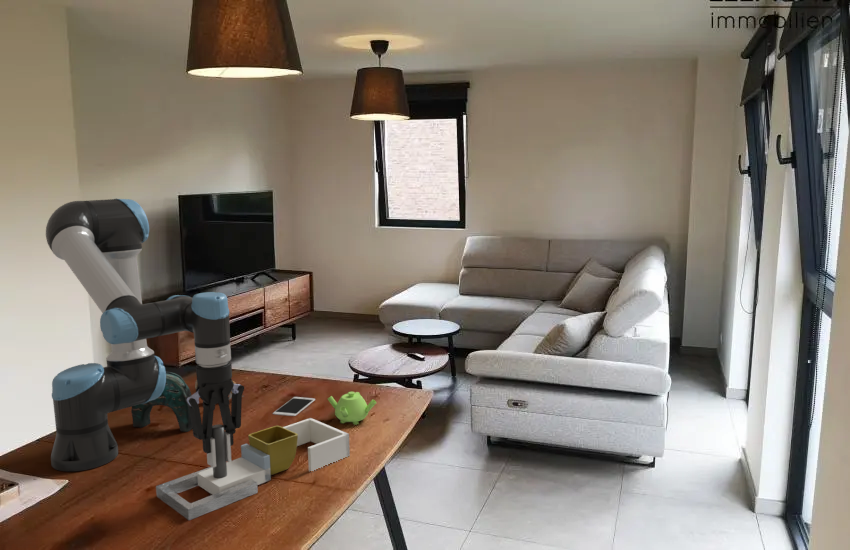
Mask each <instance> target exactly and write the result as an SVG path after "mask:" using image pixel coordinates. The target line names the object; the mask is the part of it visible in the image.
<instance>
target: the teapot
mask: <svg viewBox="0 0 850 550" xmlns="http://www.w3.org/2000/svg"><path fill="white" fill-rule="evenodd" d="M327 401H328V402H329V403H330V404H331V406H332V407H333V408H334V415H335V417H336V418H337V419H338V420H339V424H345V423H352V424H353V425H354V426H355V425H356V426H358V425H359V424H360V423H359V422H360V421H363V420H364V419H366V417H367V416H368V415H369V412H370V411H371V410H372V408H374V406H375V405H376V404H377V401H376V400H375V399H371V401H370V402H368V404H367V402H366V400H365V398H364V397H363V396H362V395H361V393H360V392H359V391H356V392H355V391H348V392H347V393H345V394H342V395H341V396H340V398H339V400H338V401H336V400H335V399H334V397H333V396H332V395H331V396H330V397H328V398H327ZM357 424H358V425H357Z"/></svg>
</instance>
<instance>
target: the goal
mask: <svg viewBox="0 0 850 550" xmlns="http://www.w3.org/2000/svg"><path fill="white" fill-rule="evenodd" d="M282 427H283V428H285V429H287V430H290V431H292V432H294V433H297V434H298V439H297V447H298V446H301V445H304V444H306V443H307V444H308V443H310V442H311V443H314V445H311V446H308V447H307V457H308V458H307V460H308V461H307V462H308V472H310V471H313V472H315V471H317V470H316V469H318V468H320V469H322V468H324V467H323V466H325V465H327V466H329V465H328V464H330V463H332V464H334V463H333V462H335V463H337V462H339V461H338V460H340V459H342V460H344V459H343V458H345V457H347V458H349V457H350V453H351V452H350V448H351V447H350V433H348V432H346V431H343V430H340V429H338V428H335V427H333V426H331V425H329V424H326V423H324V422H321V421H319V420H317V419H314V418H312V417H309V418H306V419H303V420H300V421H298V422H294V423H291V424H289V425H286V426H282ZM348 456H349V457H348ZM345 459H346V458H345ZM336 461H337V462H336ZM340 461H341V460H340ZM330 465H331V464H330ZM321 467H322V468H321ZM325 467H326V466H325ZM314 470H315V471H314ZM318 470H319V469H318Z"/></svg>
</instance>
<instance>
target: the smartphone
mask: <svg viewBox="0 0 850 550" xmlns="http://www.w3.org/2000/svg"><path fill="white" fill-rule="evenodd" d="M314 401H316V398H313V397H303V396H301V397H300V396H293V397H292V398H291V399H290V400H288V401H287V402H286V403H284V404H283V405H281V406H280V407H279V408H277V409H276V410H275V411H274V412H272V415H276V416H288V417H295V416H298V414H300V413H301V412H302V411H303V410H305V409H306V408H307V407H309V406H310V405H311V404H312V403H313V402H314Z"/></svg>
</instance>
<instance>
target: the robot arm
mask: <svg viewBox="0 0 850 550" xmlns="http://www.w3.org/2000/svg"><path fill="white" fill-rule="evenodd" d="M148 220H149V219H148V217H147V214H146V212H145V210H144V208H143V207H142V206H141V205H140V204H139V202H137V201H136V200H134V199H127V198H113V199H112V198H109V199H94V200H73V201H70V202H67V203H64V204H62V205H61V206H59V207H58V208H57V209H55V210H54V212H53V213H51V215H50V217H49V219H48V220H47V224H46V225H45V238H46V239H45V240H46V244H47V245H48V247H49V249H50V250H51V252H52V253H53V255H55V257H57V259H60V260H63V261H64V262H65V263H66V264H67V266H68V267H69V268H70V270H71V271H72V273H73V274H74V276H75V277H76V279H78V282H80V284H81V285H82V287H83V288H84V290H85V291H86V292H87V294H88V296H90V298H91V299H92V301H93V302H94V303H95V306H97V308H98V309H99V310H100V312H101V316H100V318H99V326H100V327H99V328H100V331H101V333H102V337H103V339H104V340H105V341H106V342H107V343H109V344H110V347H111V348H110V349H111V352H110V353H109V354H108V355H107V357H106V366H103V365H102V364H100V363H98V362H96V363H95V362H89V363H86V364H82V363H81V364H77V365H75V366H72V367H68V368H66V369H64V370H62V371H60V372H59V373H57V374H56V375H55V376H54V378H52V382H51V387H52V389H51V391H52V393H51V399H52V403H53V411H54V422H55V431H56V435H55V440H54V443H53V446H52V449H51V455H50V461H51V462H50V463H51V467H52V469H54V470H57V471H61V472H80V471H86V470H88V471H89V470H92V469H95V468H98V467H102V466H104V465H106V464H109V463H110V462H111V461H113V460H115V459H116V458H117V456H118V455H119V447H118V446H119V445H118V443H117V441H116V439H115V436H114V435H113V432H112V430H111V428H110V426H109V421H108V414H109V413H113V412H115V411H116V412H117V411H121V410H123V409H124V410H125V409H127V408H130V407H131V408H132V406H135V405H139V404H145V403H147V402H149V401H152V400H155V399H157V398H158V397H159V396H160V395H161V394H162V392H163V391H164V388H165V384H166V374H167V373H166V372H167V371H166V367H165V365H164V362H163V360H162V359H161V358H160V357H159V356H157V355H155V351H154V350H153V349H151V348H150V347H149V346H148V343H147V339H151V338H156V337H161V336H166V335H171V334H175V333H181V332H188V333H192V334H193V337H194V338H193V339H194V341H193V342H194V353H195V354H194V355H195V356H194V357H195V363H196V364H197V365H196V366H195V371H196V372H195V373H196V380H197V383H198V386H197V389H195V392H194V393H193V394H191V395H192V396H187V397H186V398H185V401H186V402H187V404H188V406H189V410H190V417H191V423H192V429H191V430H192V434H193V437H195V438H196V439H197V440H199V441H200V440H201V441H202V451H203V453H206V461H207V465H208V466H209V467H211V466H212V467H216V451H215V439H214V438H212V437H211V436H212V426H213V425H214V424H213V423H214V411H215V410H216V405H217V404H218V408H219V413H220V415H221V420H222V425H224V431H225V447H226V463H227V462H231V461H232V448H231V447H232V446H234V443H235V441H234V434H236V432H237V431H236V430H237V429H239V428H241V426H242V408H243V407H242V400H243V397H242V395H243V394H244V391H245V385H241V384H239V383H237V382H236V384H234V383H233V381H234V380H233V379H232V377H233V368H232V366H233V364H232V362H231V360H232V350H231V333H230V332H231V330H230V329H231V326H230V309H229V300H228V297H227V294H225V293H223V292H219V291H218V292H217V291H215V292H214V291H206V292H200V293H196V294H194V295H193V296H192V297H191V296H189V295H183V294H182V295H181V294H180V295H179V294H177V295H176V294H175V295H171V296H169V297H168V298H166V300H160V301H155V302H148V303H143V300H142V292H141V283H140V282H141V281H140V273H139V267H138V265H139V264H138V255H139V254H140V253H141V252H142V250H143V246H142V244H143V243H145V242H146V241H147V240H148V238H149V233H150V224H149V221H148ZM231 391H232V397H231V405H230V400H229V398H228V397H229V394H230V392H231ZM200 399H201V400H202V416H201V409H200V405H199V404H200ZM230 406H231V407H230Z"/></svg>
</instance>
